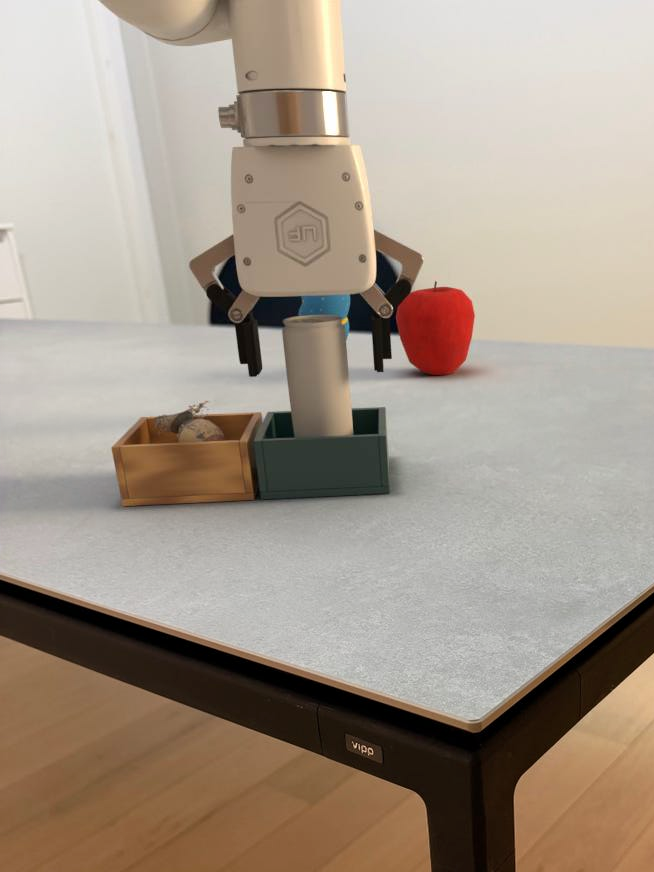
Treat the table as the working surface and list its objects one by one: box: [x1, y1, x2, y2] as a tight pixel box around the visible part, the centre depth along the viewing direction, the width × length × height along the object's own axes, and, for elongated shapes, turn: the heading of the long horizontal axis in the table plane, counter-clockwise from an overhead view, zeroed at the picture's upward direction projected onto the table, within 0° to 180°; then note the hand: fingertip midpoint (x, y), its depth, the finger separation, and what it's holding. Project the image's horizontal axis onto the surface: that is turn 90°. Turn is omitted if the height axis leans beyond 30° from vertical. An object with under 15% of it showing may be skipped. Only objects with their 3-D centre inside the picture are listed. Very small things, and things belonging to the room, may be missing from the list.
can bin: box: [254, 406, 391, 500], centre depth 78 cm, size 10×10×5 cm
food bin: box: [110, 411, 263, 507], centre depth 77 cm, size 10×10×5 cm
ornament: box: [298, 294, 351, 341], centre depth 95 cm, size 5×5×15 cm
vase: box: [153, 400, 241, 443], centre depth 76 cm, size 5×5×6 cm
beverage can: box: [281, 315, 354, 438], centre depth 76 cm, size 5×5×12 cm
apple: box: [395, 280, 476, 376], centre depth 117 cm, size 10×10×11 cm
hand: (317, 371), depth 75 cm, fingers open, 9 cm apart
